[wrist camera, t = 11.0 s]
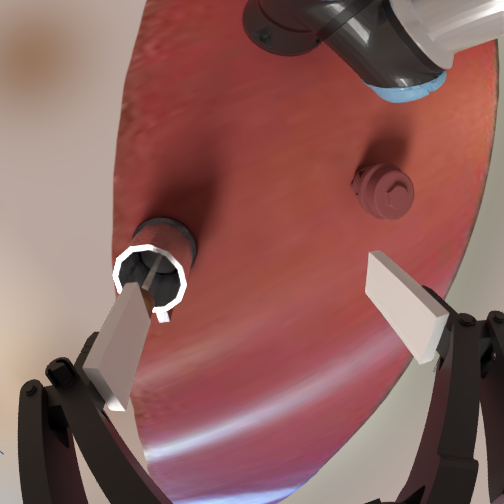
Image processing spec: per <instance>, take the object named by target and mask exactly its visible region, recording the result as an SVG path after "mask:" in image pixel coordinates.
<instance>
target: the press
mask: <svg viewBox="0 0 504 504" xmlns="http://www.w3.org/2000/svg"><path fill="white" fill-rule="evenodd" d="M143 250H151V251H154V252H156V253H159V254H162V255H164V256H166V257H167V258H168V259H169V260H170V261H171V262H172V264H173V265H174V266H175V267H176V269H175V270H173V271H171V272H168V273H158V272H156V273H155V275H154V277H153V280H152V282H151V284H150V287H149V289H148V292H150V293H151V295H152V296H153V298H154V300H155V306H154V309H153V312H156V314H157V317H158V320H159V322H170V320H171V316H172V311H173V307H174V306H175V305H176V304H177V303H179V302H180V301H181V299H182V296H183V294H184V291H185V289H186V286H187V282H188V277H189V272H190V269H191V268H192V266H193V264H194V262H195V258H196V250H197V249H196V243H195V239H194V237H193V235H192V233H191V232H190V230H189V229H188V228H187V227H186V226H185V225H184V224H182V223H181V222H179V221H178V220H175V219H173V218H170V217H154V218H151V219H148V220H146V221H145V222H143V223H142V224H141V225H140V226H139V227H138V228H137V229H136V231H135V232H134V234H133V236H132V239H131V241H130V242H129V244H128V245H127V246H126V248H125V249H124V250H123V251H122V253H121V254H120V255H119V257H118V258H117V260H116V264H115V269H114V273H113V277H114V280H115V283H116V286H117V289H118V292H119V293H121V291H122V289H123V287H124V285H125V284H126V283H134V282H138V284H139V287H140V288H142V286H143V284H144V282H145V280H146V278H147V276H148V273H149V271H150V268H148V267H147V266H146V265H145V263H144V262H143V260H142V257H141V251H143Z"/></svg>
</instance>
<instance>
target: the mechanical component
mask: <svg viewBox="0 0 504 504" xmlns="http://www.w3.org/2000/svg"><path fill="white" fill-rule="evenodd" d="M351 188H352V189H353V190H354V193H355V195H356V197H357V198H358V199H359V202H360V204H361V206H362V208H363V209H364V210H365V212H367V213H368V214H369V215H371V216H373V217H375V218H377V219H388V220H397V219H399V218H401V217H403V216H404V215H405V214H406V213H407V212H408V211H409V209H410V208H411V206H412V203H413V200H414V187H413V184H412V181H411V179H410V178H409V177H408V176H407V175H406V174H405V173H403V172H402V171H401V170H400V169H399V168H398V167H397V166H395V165H393V164H390V163H385V162H379V163H375V164H373V165H371V166H370V167H365V168H362V169H361V170H359V171H358V172H357V174H356V175H355V177H354V180H353V182H352V183H351Z"/></svg>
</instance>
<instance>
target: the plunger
mask: <svg viewBox="0 0 504 504" xmlns="http://www.w3.org/2000/svg"><path fill="white" fill-rule="evenodd" d="M141 257H142V260H143V262H144V263H145V265H146V266H147V267H148V268H150V271H149V273H148V276H147V278H146V280H145V282H144V284H143V286H142V288H140V287H139V288H140V291H141V294H142V297H143V300H144V303H145V306H146V309H147V312H148V315H149V318H151V315H152V312H153V309H154V306H155V300H154V298H153V296H152V295H151V293H150V292H148V289H149V287H150V284H151V282H152V280H153V277H154V275H155V273H156V272H158V273H168V272H171V271H173V270H175V269H176V267H175V266H174V265H173V264H172V262H171V261H170V260H169V259H168V258H167V257H166V256H164V255H162V254H159V253H156V252H154V251H151V250H143V251H141Z"/></svg>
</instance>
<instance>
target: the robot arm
mask: <svg viewBox="0 0 504 504" xmlns="http://www.w3.org/2000/svg"><path fill="white" fill-rule="evenodd" d="M242 21H243V27H244V30H245V32H246V34H247V35H248V37H249V38H250V39H251V40H252V42H254V43H255V44H256V45H257V46H258V47H260V48H262V49H263V50H265V51H267V52H270V53H273V54H276V55H281V56H298V55H303V54H306V53H308V52H310V51H312V50H313V49H314V48H316V47H317V46H318V45H319V44H320V43H321V42H322V41H323V42H324V43H325V44H327V45H328V46H329V47H330V48H331V49H332V50H333V51H334V52H335V53H336V54H337V55H339V56H340V57H341V58H342V59H343V60H344V61H345V62H346V63H347V64H348V65H349V66H350V67H351V68H352V69H353V70H354V71H355V72H356V73H357V74H358V75H359V76H360V77H361V80H362V81H363V83H364V84H366V85H367V86H369V87H370V88H371V89H372V90H373V91H374V92H375V93H376V94H377V95H378V96H379V97H380V98H382V99H384V100H386V101H388V102H392V103H404V102H410V101H414V100H417V99H420V98H422V97H425V96H427V95H429V92H430V91H435V90H437V89H438V88H439V87H440V86H441V85H442V84H443V83H444V82H445V80H446V76H447V73H446V70H448V69H450V68H451V67H452V65H453V59H454V54H455V53H457V52H460V51H462V50H465V49H468V48H470V47H473V46H476V45H479V44H482V43H485V42H487V41H490V40H494V39H497V38H500V37H503V36H504V0H249V1H248V2H247V4H246V6H245V8H244V12H243V18H242ZM365 293H366V294H367V296H368V297H369V298H370V299H371V301H372V302H373V303H374V304H375V306H376V307H377V308H378V309H379V311H380V312H381V313H382V315H383V316H384V317H385V318H386V320H387V321H388V322H389V324H390V325H391V326H392V328H393V329H394V330H395V331H396V333H397V334H398V335H399V337H400V338H401V339H402V341H403V342H404V344H405V345H406V346H407V348H408V349H409V350H410V352H411V353H412V354H413V356H414V357H415V359H416V360H417V361H418V363H419V364H420V365H421V364H423V363H426V362H428V361H431V360H432V359H433V357H434V354H435V352H436V351H437V352H438V353H439V355H440V357H439V359H438V361H437V364H436V366H435V368H434V370H433V372H435V371H436V376H435V383H434V388H433V393H432V399H431V404H430V407H429V412H428V416H427V420H426V424H425V428H424V432H423V435H422V439H421V442H420V446H419V449H418V452H417V455H416V458H415V461H414V464H413V467H412V470H411V472H410V475H409V478H408V481H407V483H406V485H405V486H404V488H403V489H402V491H401V492H400V494H399V496H398V497H397V499H396V501H395V502H381V501H380V498H379V499H376V500H373V501H371V502H368V503H365V504H470V502H471V498H472V494H473V491H474V487H475V482H476V477H477V473H478V466H479V464H478V461H477V460H475V459H474V458H473V454H474V448H475V442H476V434H477V426H478V416H479V402H480V403H481V408H482V415H483V421H484V429H485V436H486V447H487V461H488V487H489V497H490V503H491V504H504V313H502V312H500V311H491V312H489V315H488V317H487V319H486V320H482V321H477V320H476V319H475V318H474V317H473V316H471V315H469V314H466V313H460V314H458V313H457V312H456V311H455V310H453V309H452V308H451V307H450V306H449V305H448V304H447V303H446V302H445V301H444V300H442V298H441V297H440V296H438V294H436V293H435V292H434V291H433V290H432V289H430V288H428V287H426V286H424V285H423V286H420V285H419V284H418V283H417V282H416V281H415V280H414V279H413V278H412V277H410V276H409V275H408V274H407V273H406V272H405V271H404V270H403V269H401V268H400V267H399V266H398V265H397V264H396V263H395V262H393V261H392V260H391V259H390V258H389V257H388V256H386V255H385V254H384V253H383V252H382V251H380V250H378V251H372V252H369V259H368V270H367V280H366V288H365ZM150 323H151V321H150V318H149V315H148V312H147V309H146V306H145V303H144V300H143V297H142V294H141V291H140V288H139V284H138V282H134V283H126V284H125V285H124V287H123V289H122V291H121V293H120V294H119V296H118V298H117V300H116V302H115V304H114V305H113V307H112V309H111V311H110V313H109V315H108V317H107V318H106V320H105V322H104V324H103V326H102V328H101V330H100V332H94V333H93V334H92V335H91V336H90V337H89V338H88V339H87V341H86V342H85V344H84V347H83V348H82V350H81V353H80V354H79V356H78V358H77V360H76V362H75V364H74V366H73V364H72V363H71V361H70V360H69V359H68V358H65V357H60V358H57V359H55V360H53V361H52V362H50V364H49V365H48V366H47V368H46V370H45V374H46V376H47V377H48V379H49V380H50V382H51V383H52V385H51V386H46V387H43V385H42V384H41V383H40V381H38V380H35V379H34V380H30V381H28V382H26V383H25V384H24V385H23V386H22V388H21V390H20V397H19V412H18V458H19V459H18V460H19V473H20V483H21V492H22V498H23V504H88V501H87V498H86V494H85V491H84V487H83V483H82V479H81V475H80V471H79V466H78V462H77V457H76V452H75V447H74V441H73V436H74V438H75V440H76V442H77V444H78V446H79V448H80V451H81V452H82V454H83V457H84V459H85V461H86V462H87V464H88V466H89V468H90V470H91V472H92V473H93V475H94V477H95V479H96V481H97V482H98V484H99V486H100V487H101V489H102V491H103V492H104V494H105V496H106V497H107V498H108V500H109V502H110V503H111V504H173V503H172V502H171V501H170V500H169V499H168V498H167V497H166V495H165V494H164V493H163V492H162V491H161V490H160V488H159V487H158V486H157V485H156V484H155V483H154V481H153V480H152V479H151V478H150V476H149V475H148V474H147V473H146V471H145V470H144V469H143V468H142V466H141V465H140V463H139V462H138V461H137V459H136V458H135V457H134V456H133V454H132V453H131V451H130V450H129V448H128V447H127V445H126V444H125V442H124V441H123V440H122V438H121V436H120V435H119V433H118V432H117V430H116V429H115V427H114V426H113V424H112V422H111V421H110V419H109V417H108V416H107V414H106V413H105V411H104V410H103V408H104V405H105V403H106V404H107V406H108V407H109V408H110V410H114V411H126V408H127V404H128V399H129V396H130V392H131V388H132V384H133V381H134V377H135V373H136V370H137V366H138V363H139V359H140V356H141V353H142V349H143V346H144V343H145V339H146V336H147V333H148V330H149V326H150ZM494 354H495V356H494ZM436 369H437V370H436ZM72 433H73V434H72Z"/></svg>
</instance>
